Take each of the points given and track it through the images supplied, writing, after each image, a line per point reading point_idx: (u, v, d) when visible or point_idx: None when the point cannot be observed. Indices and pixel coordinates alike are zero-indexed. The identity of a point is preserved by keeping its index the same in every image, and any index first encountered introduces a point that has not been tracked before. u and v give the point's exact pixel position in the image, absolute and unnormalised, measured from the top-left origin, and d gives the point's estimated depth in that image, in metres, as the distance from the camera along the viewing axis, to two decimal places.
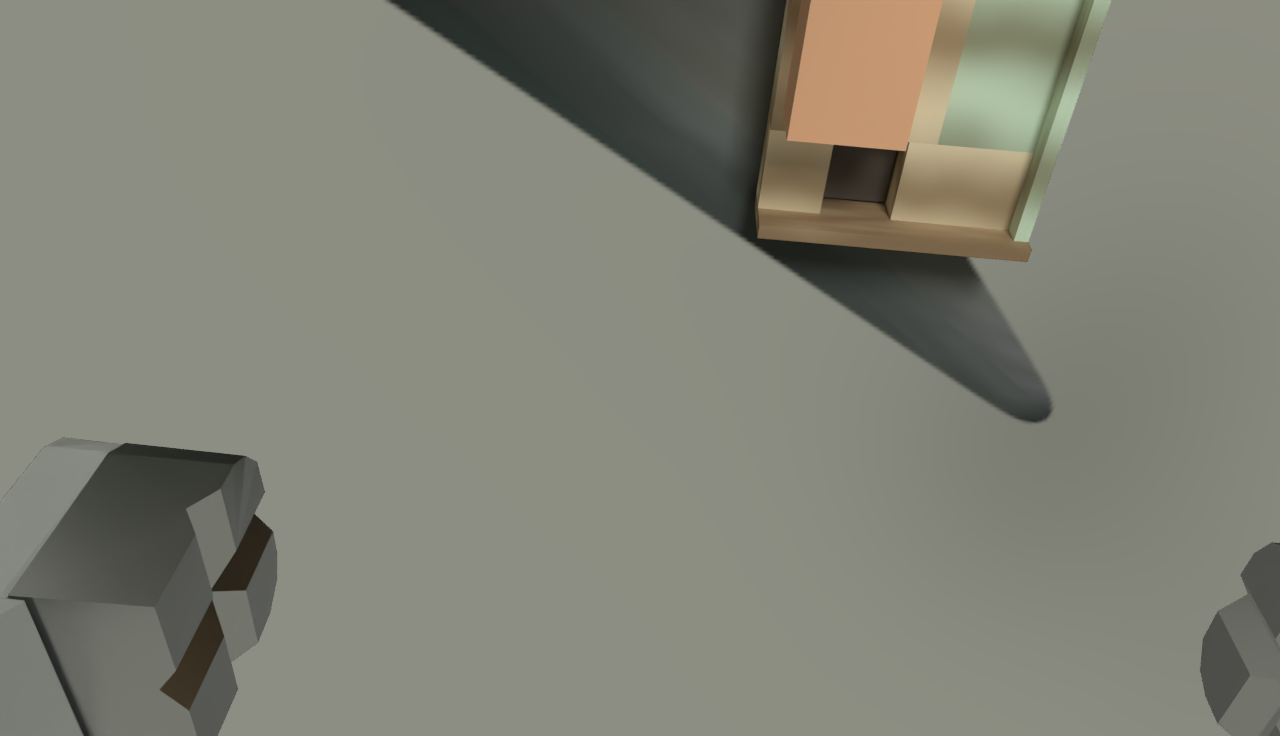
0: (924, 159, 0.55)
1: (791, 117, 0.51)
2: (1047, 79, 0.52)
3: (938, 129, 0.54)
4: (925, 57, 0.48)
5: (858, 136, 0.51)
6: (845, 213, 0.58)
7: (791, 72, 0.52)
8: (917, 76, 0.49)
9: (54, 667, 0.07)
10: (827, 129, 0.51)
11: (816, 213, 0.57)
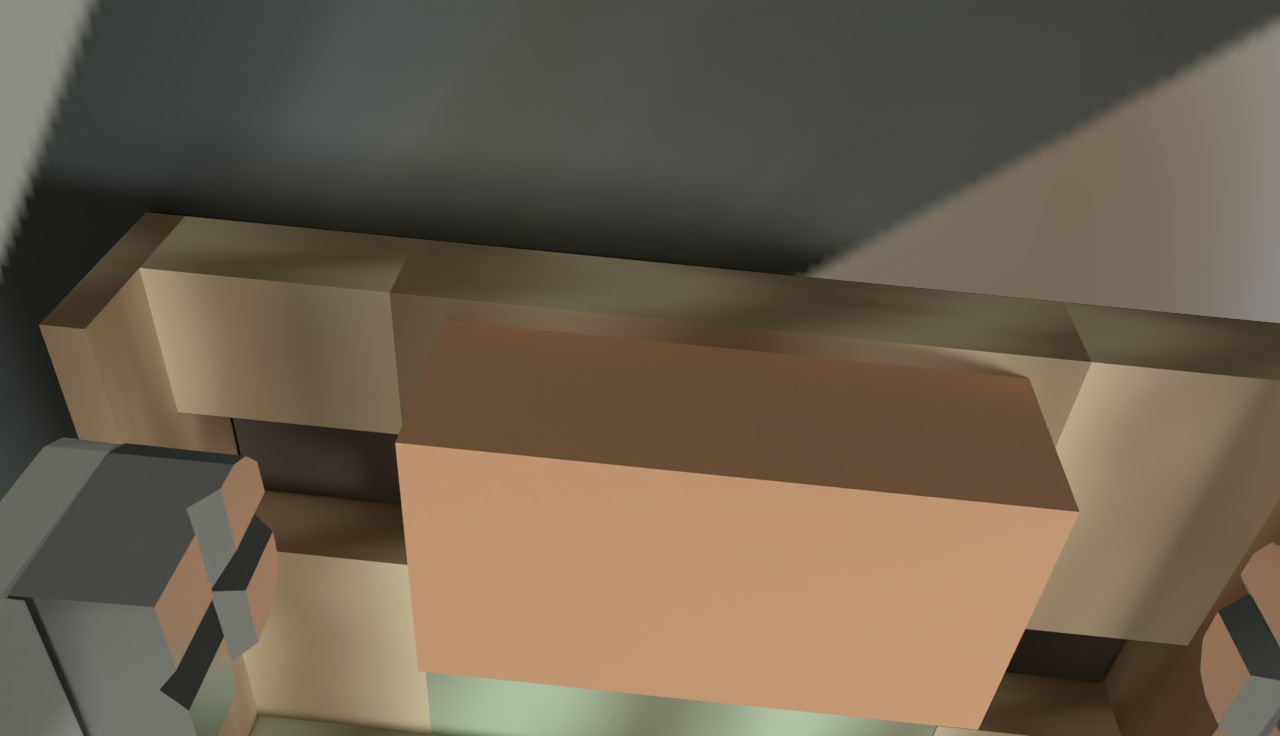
0: (380, 591, 0.24)
1: (470, 449, 0.16)
2: None
3: None
4: (661, 691, 0.20)
5: (439, 590, 0.19)
6: None
7: (572, 360, 0.18)
8: (613, 682, 0.20)
9: (54, 667, 0.07)
10: (448, 530, 0.18)
11: (175, 406, 0.21)
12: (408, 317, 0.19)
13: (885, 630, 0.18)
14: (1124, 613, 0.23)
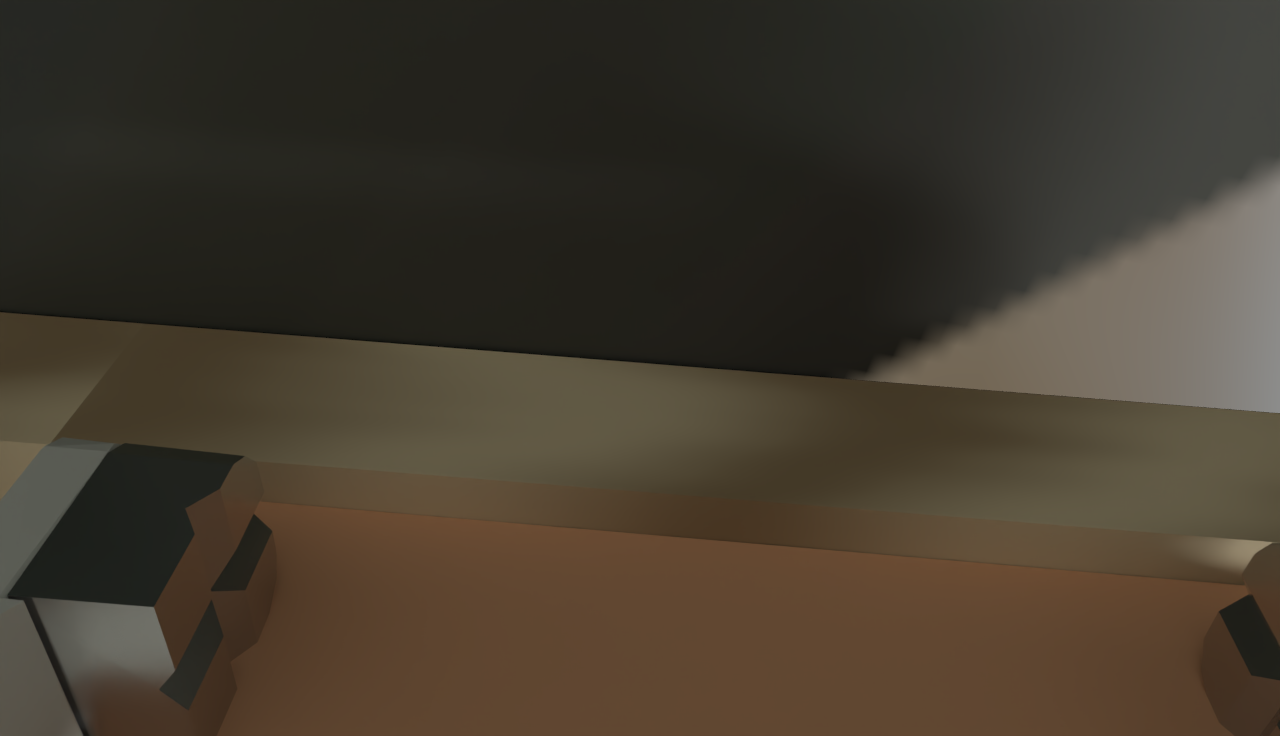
0: None
1: None
2: None
3: None
4: None
5: None
6: None
7: (411, 585, 0.09)
8: None
9: (54, 666, 0.07)
10: None
11: None
12: None
13: None
14: None
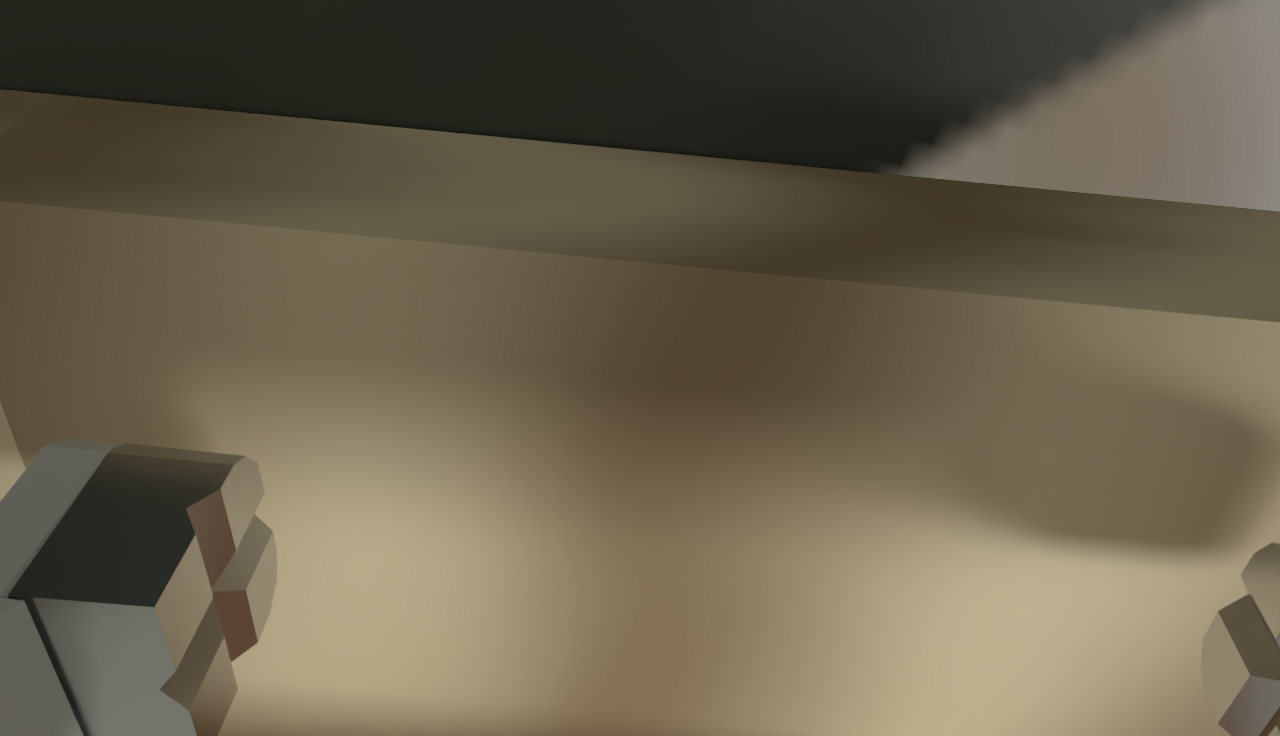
0: None
1: None
2: None
3: None
4: None
5: None
6: None
7: None
8: None
9: (54, 667, 0.07)
10: None
11: None
12: None
13: None
14: None
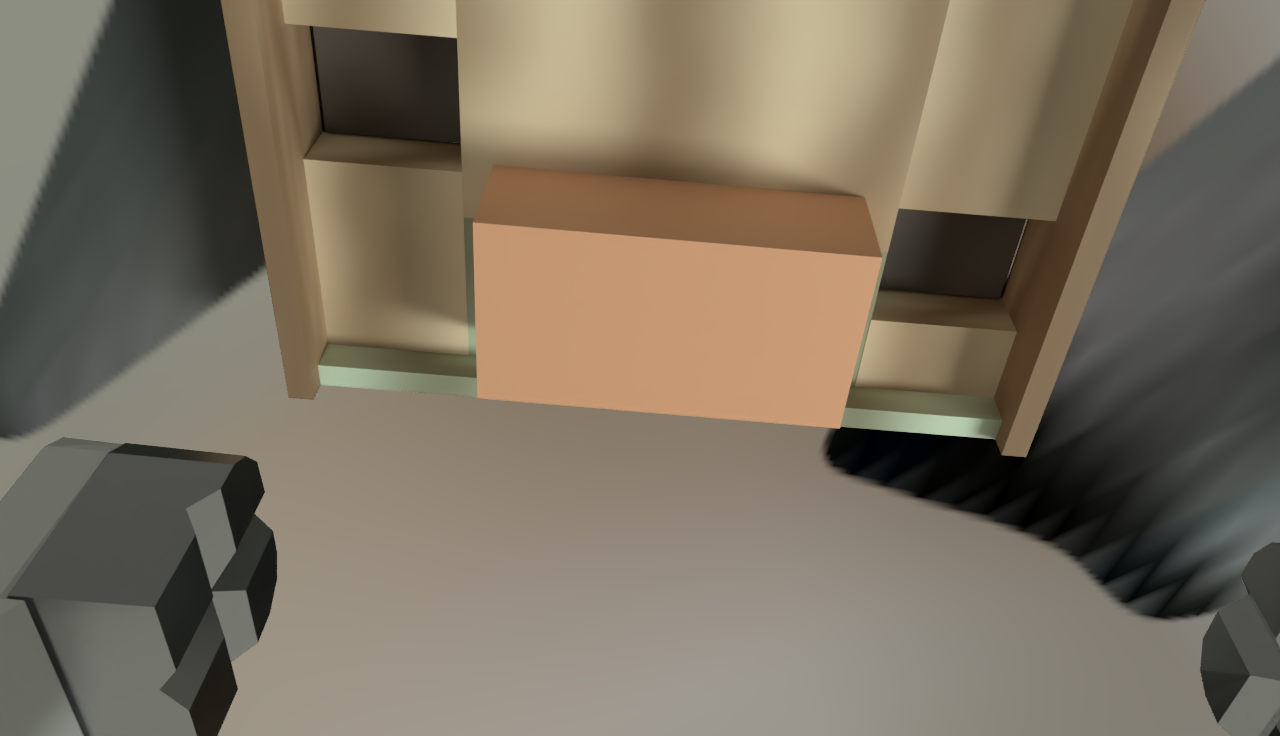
0: (433, 201, 0.31)
1: (518, 226, 0.27)
2: None
3: None
4: (635, 407, 0.31)
5: (494, 331, 0.29)
6: (294, 72, 0.29)
7: (576, 185, 0.29)
8: (605, 400, 0.31)
9: (54, 666, 0.07)
10: (502, 285, 0.28)
11: (283, 17, 0.28)
12: None
13: (775, 351, 0.29)
14: (1005, 190, 0.30)
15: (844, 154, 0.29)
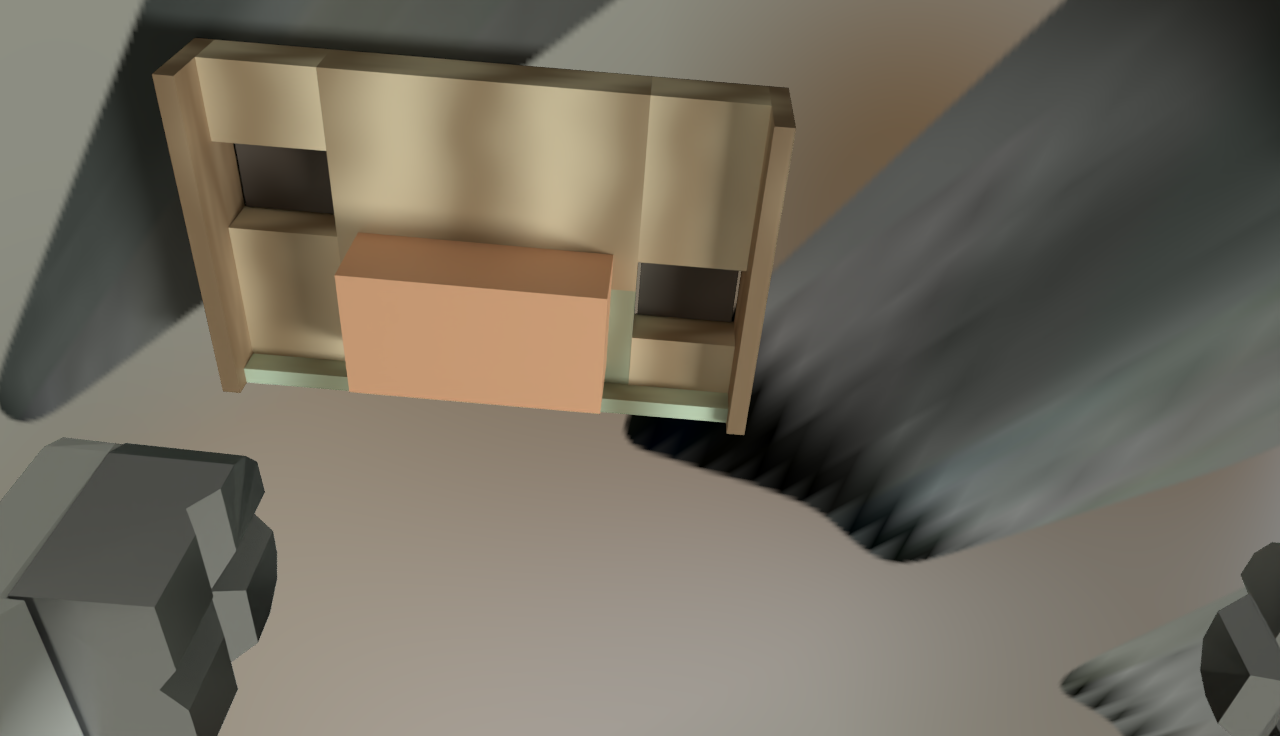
0: (319, 255, 0.45)
1: (364, 277, 0.41)
2: None
3: None
4: (458, 398, 0.45)
5: (356, 346, 0.43)
6: (220, 171, 0.43)
7: (412, 247, 0.43)
8: (436, 394, 0.44)
9: (54, 667, 0.07)
10: (358, 316, 0.42)
11: (210, 137, 0.41)
12: (325, 80, 0.40)
13: (547, 360, 0.43)
14: (708, 250, 0.44)
15: (594, 226, 0.43)
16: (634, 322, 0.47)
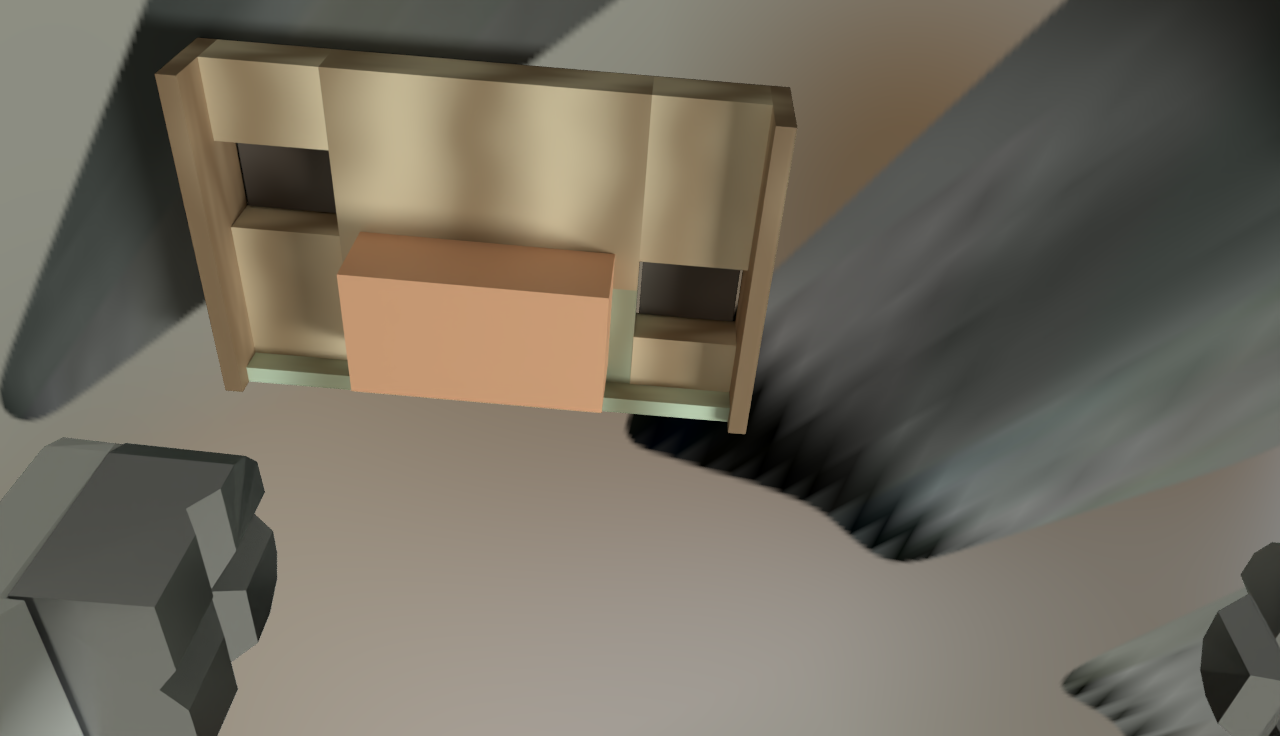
0: (321, 255, 0.45)
1: (366, 277, 0.41)
2: None
3: None
4: (460, 397, 0.45)
5: (358, 346, 0.43)
6: (222, 170, 0.43)
7: (414, 246, 0.43)
8: (438, 393, 0.45)
9: (54, 667, 0.07)
10: (360, 315, 0.42)
11: (213, 137, 0.42)
12: (327, 80, 0.40)
13: (548, 359, 0.43)
14: (709, 250, 0.44)
15: (596, 226, 0.43)
16: (636, 321, 0.47)
